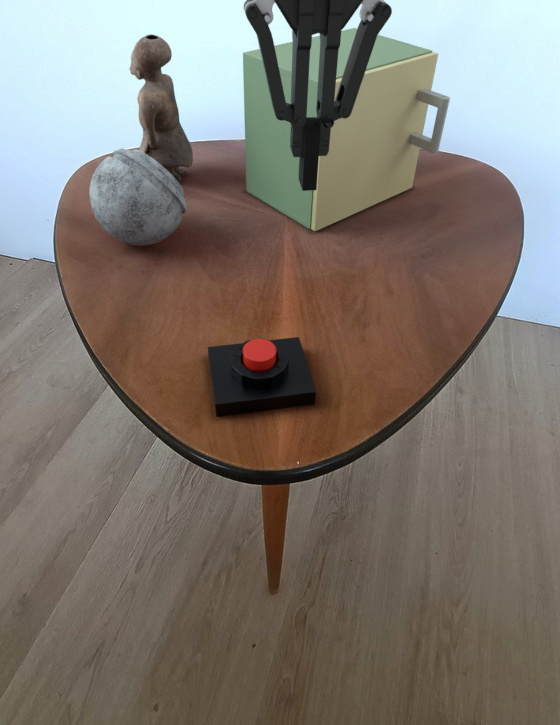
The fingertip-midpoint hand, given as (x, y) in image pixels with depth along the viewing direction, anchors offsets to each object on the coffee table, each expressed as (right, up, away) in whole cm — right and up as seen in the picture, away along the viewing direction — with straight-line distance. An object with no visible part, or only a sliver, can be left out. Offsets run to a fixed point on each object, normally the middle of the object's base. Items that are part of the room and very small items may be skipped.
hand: (307, 184), depth 59 cm
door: (+15, +8, +41) cm, 45 cm away
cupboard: (+6, +15, +48) cm, 51 cm away
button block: (-5, -21, +11) cm, 25 cm away
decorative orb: (-26, +2, +34) cm, 43 cm away
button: (-5, -19, +8) cm, 21 cm away
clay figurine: (-25, +17, +50) cm, 59 cm away
